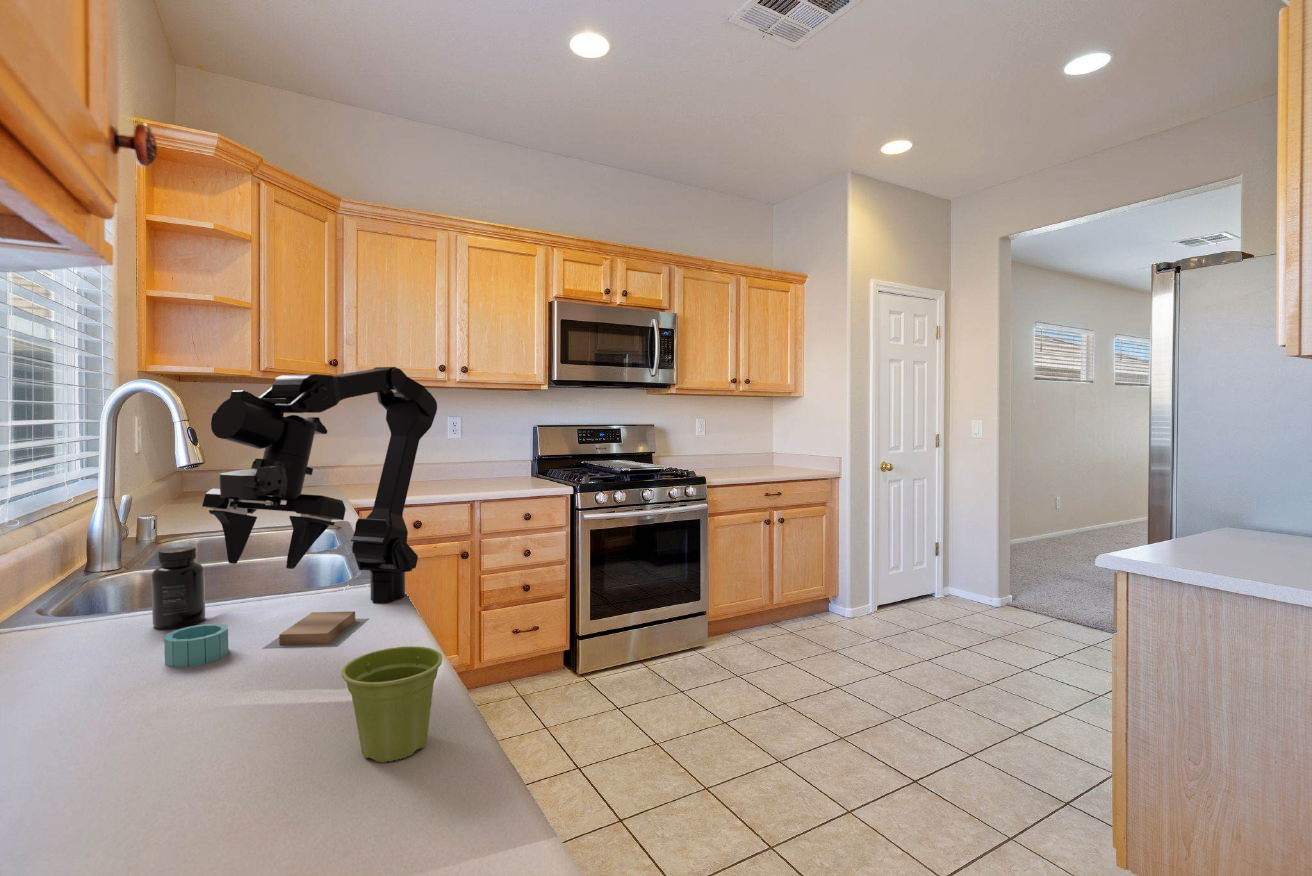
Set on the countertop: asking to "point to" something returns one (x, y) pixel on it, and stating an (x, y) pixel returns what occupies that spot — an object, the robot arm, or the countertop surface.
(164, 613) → the supplement bottle
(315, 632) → the walnut board
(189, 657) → the ramekin
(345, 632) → the trivet
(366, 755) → the plant pot
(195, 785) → the countertop surface
